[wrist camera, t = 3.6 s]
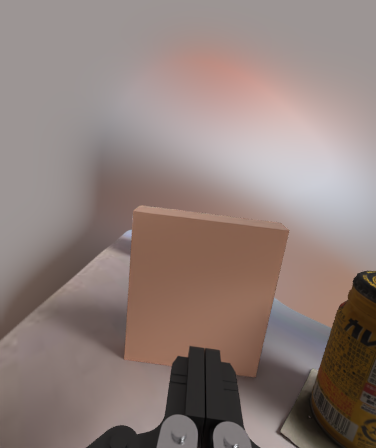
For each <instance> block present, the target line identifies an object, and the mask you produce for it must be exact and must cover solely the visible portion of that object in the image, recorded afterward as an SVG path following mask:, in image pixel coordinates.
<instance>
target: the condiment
mask: <svg viewBox="0 0 376 448" xmlns="http://www.w3.org/2000/svg"><path fill="white" fill-rule="evenodd" d="M309 416H310V417H311V418H309ZM280 432H281V433H283V434H284V435H285V436H286V437H288V438H289V439H290V440H291V441H292V442H293V443H294V444H295V445H297V446H298V447H300V448H376V271H364V272H361V273H358V274H357V276H356V277H355V278H354V280H353V286H352V289H351V290H350V292H349V294H348V300H347V301H345V302H344V303H342V304H341V305H340V306H339V309H338V310H337V313H336V317H335V320H334V323H333V326H332V329H331V333H330V336H329V339H328V342H327V346H326V348H325V352H324V355H323V358H322V362H321V365H320V368H319V370H318V371H317V370H315V369H313V368H312V370H311V372H310V374H309V376H308V378H307V380H306V382H305V384H304V386H303V388H302V390H301V392H300V394H299V396H298V398H297V400H296V401H295V404H294V406H293V408H292V410H291V412H290V413H289V416H288V417H287V419H286V421H285V423H284V425H283V427H282V429H281V431H280Z"/></svg>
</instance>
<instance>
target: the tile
mask: <svg viewBox="0 0 376 448" xmlns="http://www.w3.org/2000/svg"><path fill="white" fill-rule="evenodd" d="M288 234H289V230H288V229H287V228H286V227H285V226H284V225H283V224H282V223H277V222H269V221H261V220H253V219H245V218H237V217H229V216H221V215H213V214H205V213H197V212H189V211H181V210H173V209H166V208H158V207H149V206H142V205H140V206H138V207H137V208H136V209H135V210H134V211H133V224H132V240H131V257H130V273H129V290H128V306H127V322H126V339H125V355H124V360H131V361H138V362H146V363H153V364H160V365H168V366H172V363H173V362H174V360H175V359H176V358H177V356H183V357H188V352H189V346H195V347H202V348H204V350H205V348H210V349H217V350H220V355H221V362H227V363H230V364H231V366H232V367H233V369H234V371H235V372H236V375H241V376H248V377H256V373H257V368H258V364H259V360H260V355H261V351H262V347H263V342H264V338H265V334H266V329H267V325H268V321H269V317H270V312H271V308H272V304H273V299H274V295H275V290H276V286H277V282H278V278H279V273H280V269H281V265H282V260H283V256H284V252H285V247H286V243H287V239H288Z"/></svg>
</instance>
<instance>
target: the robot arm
mask: <svg viewBox="0 0 376 448" xmlns="http://www.w3.org/2000/svg"><path fill="white" fill-rule="evenodd" d="M87 448H260V447H258V446H257V445H256V444H255V443H254V442H252V440H251V439H250V438H249V436H248V434H247V433H246V431H245V429H244V425H243V419H242V412H241V406H240V399H239V393H238V385H237V379H236V372H235V371H234V369H233V367H232V366H231V364H230V363H227V362H221V355H220V350H217V349H210V348H205V350H204V348H202V347H195V346H189V352H188V357H183V356H177V358H176V359H175V360H174V362H173V363H172V369H171V376H170V383H169V390H168V397H167V404H166V411H165V416H164V419H163V421H162V422H161V424H160V425H159V426H158V427H157V428H155V429H154V430H152V431H150V432H146V433H141V434H136V432H135V431H134V430H133V429H132V428H130V427H128V426H124V425H120V426H115V427H113V428H111V429H109V430H108V431H106V432H105V433H104V434H103V435H101V436H100V437H99V438H98V439H96V440H95V441H94V442H93V443H91V444H90V445H89V446H88V447H87Z"/></svg>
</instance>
